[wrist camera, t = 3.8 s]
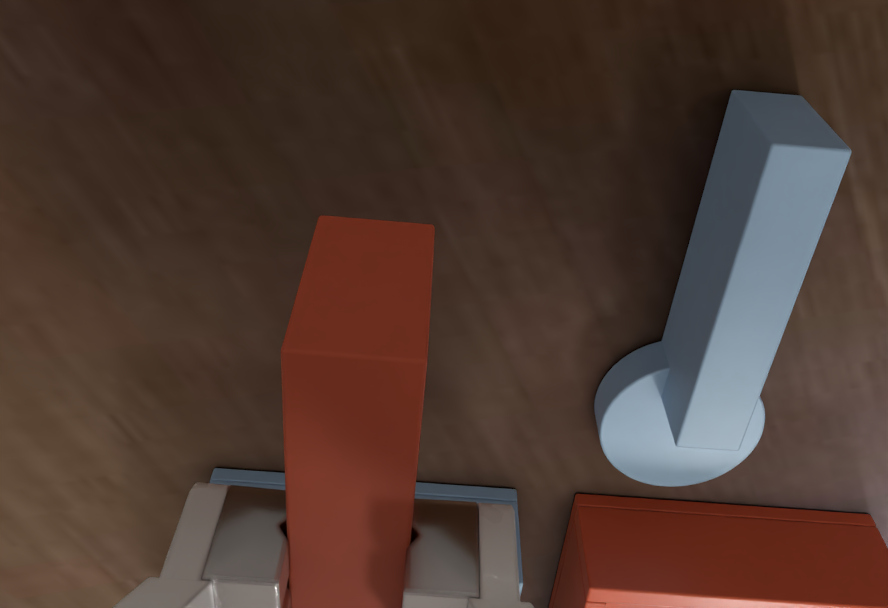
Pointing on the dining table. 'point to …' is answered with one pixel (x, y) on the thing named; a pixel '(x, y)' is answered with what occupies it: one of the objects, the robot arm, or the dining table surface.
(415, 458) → the red spoon
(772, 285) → the blue spoon
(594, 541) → the red bin
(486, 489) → the blue bin
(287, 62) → the dining table surface
